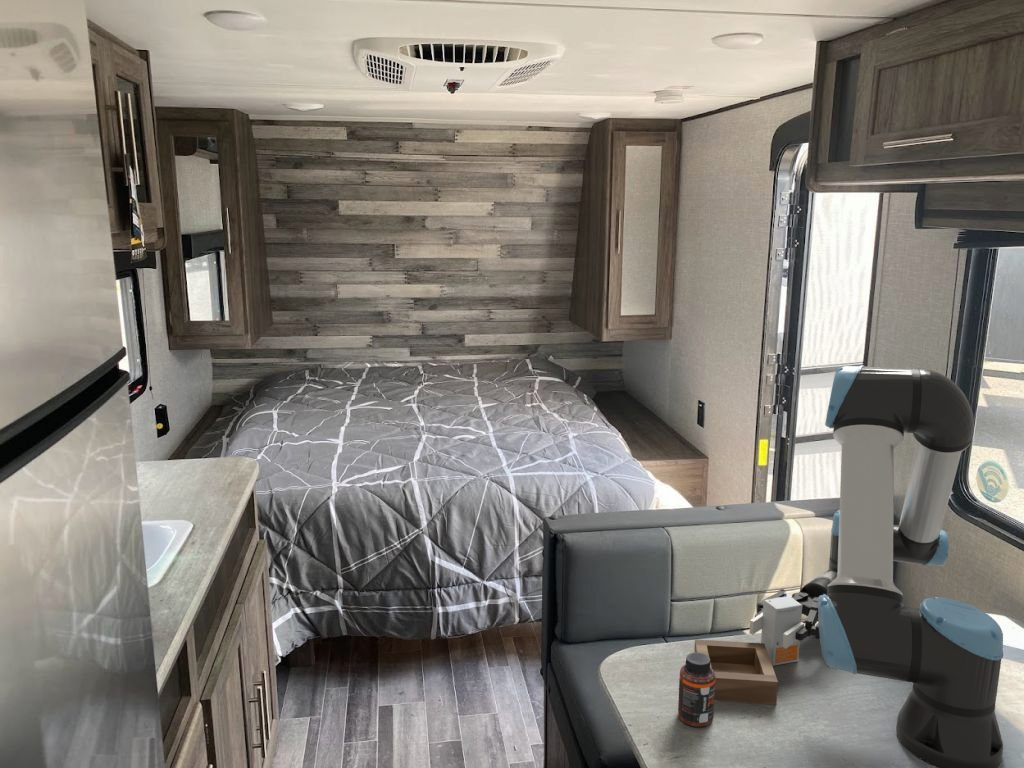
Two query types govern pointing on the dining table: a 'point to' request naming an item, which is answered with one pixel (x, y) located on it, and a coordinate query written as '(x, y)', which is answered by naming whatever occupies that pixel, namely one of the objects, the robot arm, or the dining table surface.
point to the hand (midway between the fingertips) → (767, 634)
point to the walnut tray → (740, 671)
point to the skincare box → (780, 628)
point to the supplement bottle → (696, 691)
